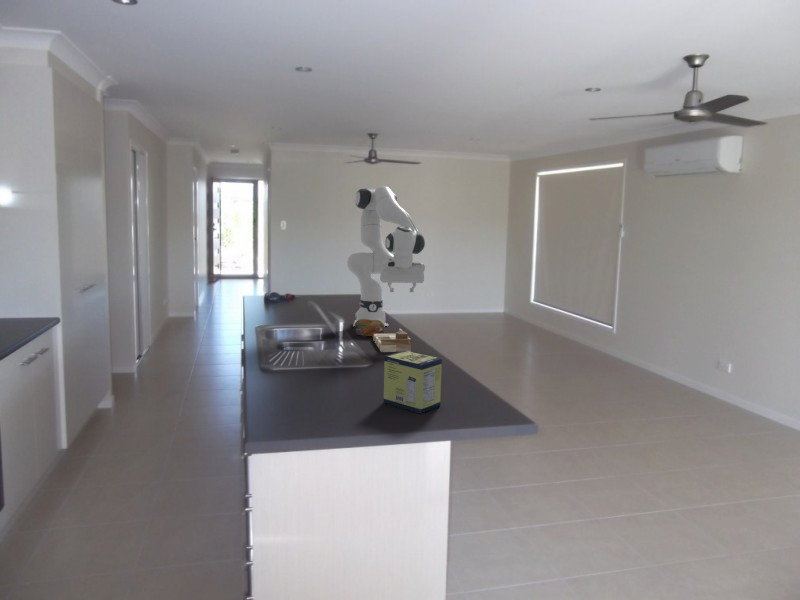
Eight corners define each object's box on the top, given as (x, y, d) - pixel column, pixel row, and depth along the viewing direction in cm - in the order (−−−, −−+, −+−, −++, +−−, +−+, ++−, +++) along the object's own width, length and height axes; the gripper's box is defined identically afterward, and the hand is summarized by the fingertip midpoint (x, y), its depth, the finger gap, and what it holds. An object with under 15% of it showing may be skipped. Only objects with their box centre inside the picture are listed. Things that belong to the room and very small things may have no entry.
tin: (354, 335, 287) (354, 318, 285) (356, 334, 290) (356, 317, 288) (383, 338, 282) (383, 321, 281) (385, 337, 285) (385, 320, 284)
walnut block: (395, 341, 262) (395, 332, 261) (405, 341, 263) (405, 331, 262) (397, 343, 257) (398, 334, 257) (407, 343, 258) (407, 333, 258)
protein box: (402, 395, 195) (404, 349, 192) (441, 406, 185) (443, 358, 183) (382, 402, 187) (383, 355, 184) (421, 414, 177) (422, 364, 175)
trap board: (373, 340, 277) (373, 328, 276) (400, 339, 280) (400, 328, 279) (381, 352, 254) (381, 339, 253) (410, 351, 256) (411, 339, 256)
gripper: (423, 261, 274) (421, 290, 276) (380, 261, 270) (379, 290, 273) (426, 263, 268) (425, 293, 270) (382, 263, 264) (381, 293, 266)
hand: (401, 292), depth 271 cm, fingers open, 8 cm apart
